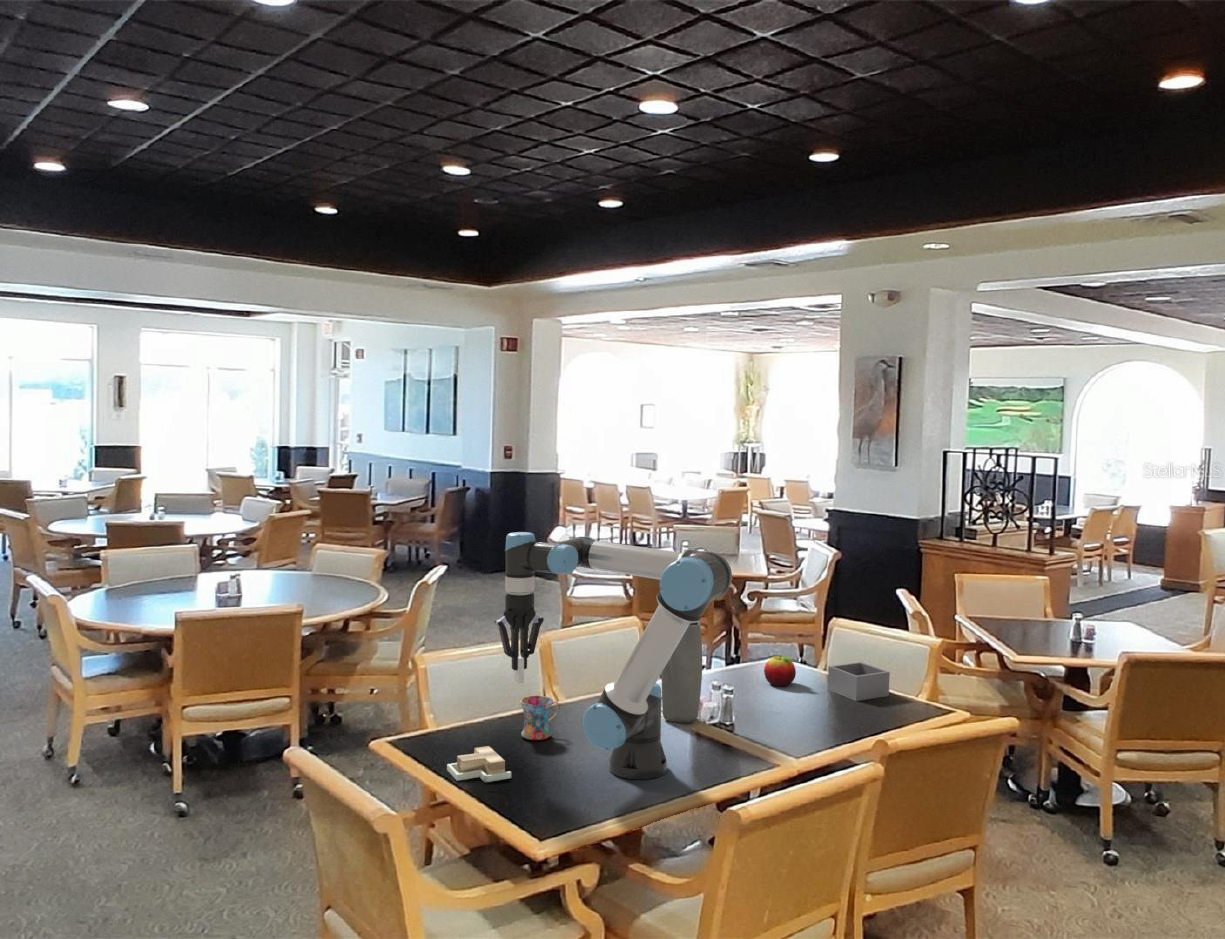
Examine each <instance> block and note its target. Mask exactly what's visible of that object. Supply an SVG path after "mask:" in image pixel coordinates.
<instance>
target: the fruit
mask: <svg viewBox="0 0 1225 939" xmlns="http://www.w3.org/2000/svg"><path fill="white" fill-rule="evenodd" d="M793 661H794V660H793V658H791V657H789V656H783V655H781V654H780V655H779V656H777V655H776V656H772V657H771V658H769V659H768V661H767V662H765V666H764V669H763V673H764V677H765V680H766V681H767V682H768V683H769V684H770V685H771V686H775V687H787V686H790V685H791V684H792V683H793V682H794V680H795V679H796V674H797V671H796V666H795V665H794V662H793Z"/></svg>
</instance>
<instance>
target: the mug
mask: <svg viewBox="0 0 1225 939" xmlns="http://www.w3.org/2000/svg"><path fill="white" fill-rule="evenodd" d="M519 702H520V705H521V707H522V710H523V715H524V716H523V717H524V724H523V729H522V731H521V733H520V734H521V736H522V738H524V739H527V740H531V741H543V740H545V739H549V737H551V736H552V732H551V729H550V725H551V723H550V722H551V721H553V720H554V718H555V717H556V716H557V714H558V713H559V711H560V706H561V705H560V703H559V702H558V701H554V699H553V698H552V697H549V696H545V695H529V696H524V697H522V698H521V699H520V701H519ZM554 704H556V705H557V710H556V712H555V713H554V714H553V716H552V717H550V711H551V708H552V706H553V705H554ZM549 717H550V718H549Z"/></svg>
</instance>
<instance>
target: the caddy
mask: <svg viewBox="0 0 1225 939" xmlns="http://www.w3.org/2000/svg"><path fill="white" fill-rule="evenodd" d="M827 667H828V670H827V671H828V673H827V690H828V691H830V692H833V693H835V694H837V695H840V696H843V697H845V698H847V699H849V700H853V701H854V702H858V701H859V702H860V701H864V700H866V701H867V700H871V699H877V698H884V697H889V696H890V676H891V675H890V673H891V672H890V671H888V670H886V669H882V668H880V667H877V666H873V665H870V664H868V663H865V662H862V661H858V662H850V663H843V664H834V665H828V666H827Z"/></svg>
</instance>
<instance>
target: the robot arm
mask: <svg viewBox="0 0 1225 939" xmlns="http://www.w3.org/2000/svg"><path fill="white" fill-rule="evenodd" d="M504 552H505V583H504V586H505V589H504V590H505V592H506V593H505V594H504V595H505V596H504V601H505V602H504V603H505V604H504V606H505V607H504V608H505V609H504V612H503V616H502V617H501V618H499V619H496V620H495V621H494V623H495V625H496V626H497V628H498V630H499V636H500V640H501V643H502V644H501V645H502V648H503V653H504V654H505V655H506V656H507V657H509V658H511V669H512V670H513V671H514V682H515V683H517V684H523V683H525V670H526V669H528V658H529V656H530V655H534V654H535V651H536V646H537V641H538V638H539V633H540V629H541V626H542V624H543V623H544V620H545V619H544V617H542V616H541V615H538V614H537V612H536V610H535V593H534V591H535V573H536V572H538V573H539V572H540V573H547V574H555V575H559V576H560V575H571V574H573V573H574V570H576V569H577V568H585V569H592V570H597V571H598V570H599V571H604V572H610V573H617V574H623V575H629V576H636V577H642V578H647V579H654V580H658V581H659V591H658V593H657V594H656V601H657V604H658V606H657V607H656V609H655V611H654V613H653V614H652V616H651V618H650V620H649V622H648V623H647V625H646V627H645V629H644V631H643V633H642V634H641V636H640V638H639V639H638V642H637V643H636V645H635V646H634V649H633V651H632V652H631V653H630V655H629V657H628V659H627V661H626V663H625V664H624V666H623V668H622V670H621V672H620V673H619V675H618V677H617V678H616V681H612V682H608V683H607V685H606V686H605V688H603V691H602V693H601V694H600V696H599V698H598V700H597V701H596V703H593V704H591V705H590V706H589V707H588V708H587V709H586V710H585V712H584V714H583V717H582V726H583V727H582V728H583V729H584V733H585V736H586V738H587V739H588V741H589V742H590V743H591V744H592V745H594V746H595V747H597V748H598V749H601V750H604V751H611V753H610V756H609V759H608V770H609V772H610V773H611V774H613V775H615V776H617V777H621V778H623V779H630V780H650V779H655V778H659V777H661V776H663V775H665V773H666V772H667V769H668V768H667V767H668V763H667V757H666V754H665V750H664V747H663V743H662V741H661V738H662V737H661V736H662V731H661V730H662V729H661V728H662V686H660V685H659V684H658V683H657V682H658V680H659V679H660V677H661V673H662V671H663V670H664V668H665V666H666V664H667V663H668V661H669V659H670V657H671V656H672V654H673V652H674V651H675V649H676V647H677V645H678V644H679V642H680V640H681V638H682V637H683V635H684V633H685V632H686V630H687V628H688V626H689V625H690V623H696V622H698V621H699V622H700V620H701V618H702V617H703V615H704V613H705V611H706V610H707V608H708V606H709V605H710V603H711V602H713V601H714V600H717V599H719V598H721V597H722V596H724V594H726V593H727V592H728V590H729V589H730V587H731V584H732V580H733V573H732V567H731V566H730V563H729V561H727V558H725V557H724V556H723V555H721V554H719V553H716V552H715V551H705V550H704V551H703V550H693V549H686V550H684V551H683V552H678V551H673V550H664V549H658V548H651V547H644V546H637V545H630V544H622V543H617V542H608V541H602V540H596V539H595V538H592V537H591V536H578V537H574V538H570V539H567V540H563V541H557V542H541V541H536V538H535V534H534V533H532V532H529V531H528V532H527V531H517V532H510V533H507V535H506V537H505V549H504ZM531 623H532V625H531V627H530V626H529V625H530V624H531ZM507 624H508V625H509V627H510V638H509V635H508V630H507V628H506V626H507ZM530 628H531V630H529V629H530ZM529 631H530V634H529ZM519 641H520V642H519ZM519 653H520V655H519Z"/></svg>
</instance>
